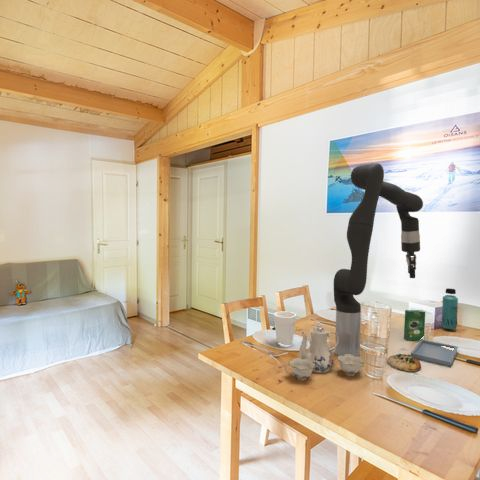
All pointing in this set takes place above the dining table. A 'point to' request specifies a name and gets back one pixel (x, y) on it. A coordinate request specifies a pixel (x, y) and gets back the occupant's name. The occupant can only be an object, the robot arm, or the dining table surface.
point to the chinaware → (321, 356)
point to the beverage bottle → (449, 310)
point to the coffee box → (414, 324)
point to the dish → (434, 353)
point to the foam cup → (285, 327)
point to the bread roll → (404, 362)
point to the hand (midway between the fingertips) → (411, 275)
